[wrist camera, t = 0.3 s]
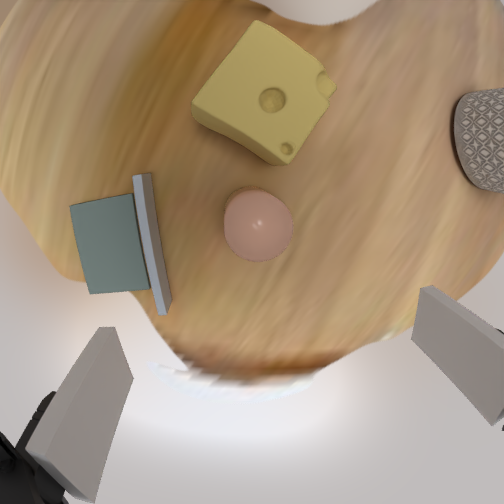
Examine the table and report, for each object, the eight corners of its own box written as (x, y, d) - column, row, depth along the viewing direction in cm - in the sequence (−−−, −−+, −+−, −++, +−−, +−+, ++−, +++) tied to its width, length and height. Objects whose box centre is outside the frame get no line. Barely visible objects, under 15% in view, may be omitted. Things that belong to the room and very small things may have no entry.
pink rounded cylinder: (221, 189, 32) (220, 197, 23) (273, 184, 32) (291, 190, 24) (227, 239, 34) (228, 265, 25) (277, 234, 34) (294, 257, 26)
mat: (71, 205, 30) (69, 206, 30) (133, 193, 31) (131, 193, 30) (91, 292, 34) (89, 294, 33) (150, 287, 35) (149, 289, 34)
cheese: (319, 101, 30) (354, 80, 20) (269, 171, 32) (288, 173, 22) (246, 53, 27) (255, 14, 18) (193, 123, 30) (180, 105, 20)
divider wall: (142, 174, 31) (132, 175, 27) (150, 173, 31) (141, 174, 27) (164, 300, 35) (158, 315, 32) (172, 299, 35) (166, 314, 32)
